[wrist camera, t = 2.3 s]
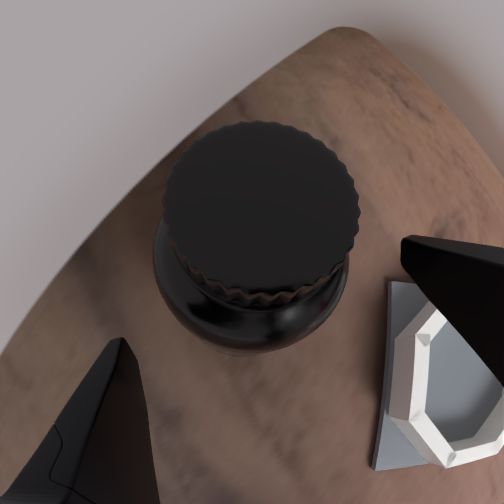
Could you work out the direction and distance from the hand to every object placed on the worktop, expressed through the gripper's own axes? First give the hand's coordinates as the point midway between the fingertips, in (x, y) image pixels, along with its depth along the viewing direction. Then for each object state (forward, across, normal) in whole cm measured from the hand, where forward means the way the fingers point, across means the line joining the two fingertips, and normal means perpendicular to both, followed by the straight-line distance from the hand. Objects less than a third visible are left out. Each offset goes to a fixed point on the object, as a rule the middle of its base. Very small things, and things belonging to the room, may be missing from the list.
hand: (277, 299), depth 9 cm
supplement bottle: (+8, 0, +5) cm, 10 cm away
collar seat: (+1, -12, +13) cm, 17 cm away
